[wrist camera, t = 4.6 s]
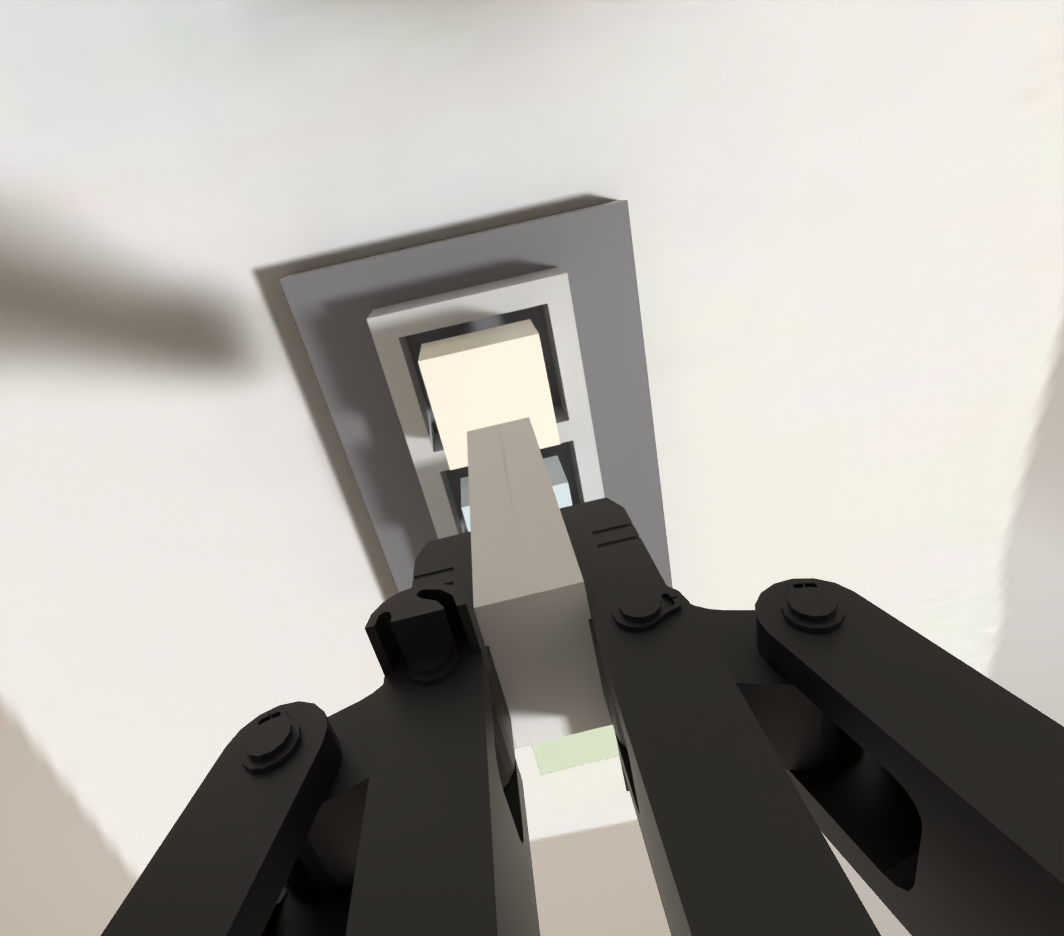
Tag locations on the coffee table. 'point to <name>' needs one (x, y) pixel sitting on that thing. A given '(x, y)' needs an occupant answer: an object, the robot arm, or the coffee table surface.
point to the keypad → (472, 305)
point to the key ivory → (487, 385)
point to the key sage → (576, 749)
